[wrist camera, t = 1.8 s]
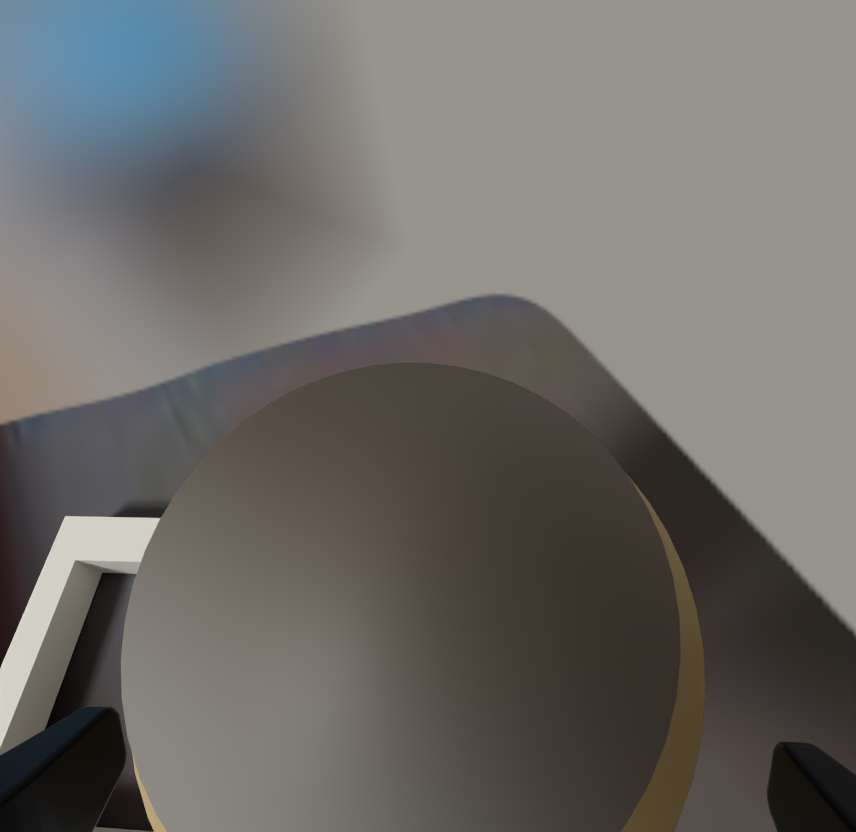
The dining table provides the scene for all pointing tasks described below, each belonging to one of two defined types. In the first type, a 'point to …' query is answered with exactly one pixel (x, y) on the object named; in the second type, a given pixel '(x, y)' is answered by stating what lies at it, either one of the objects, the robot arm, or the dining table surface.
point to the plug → (412, 623)
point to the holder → (62, 618)
